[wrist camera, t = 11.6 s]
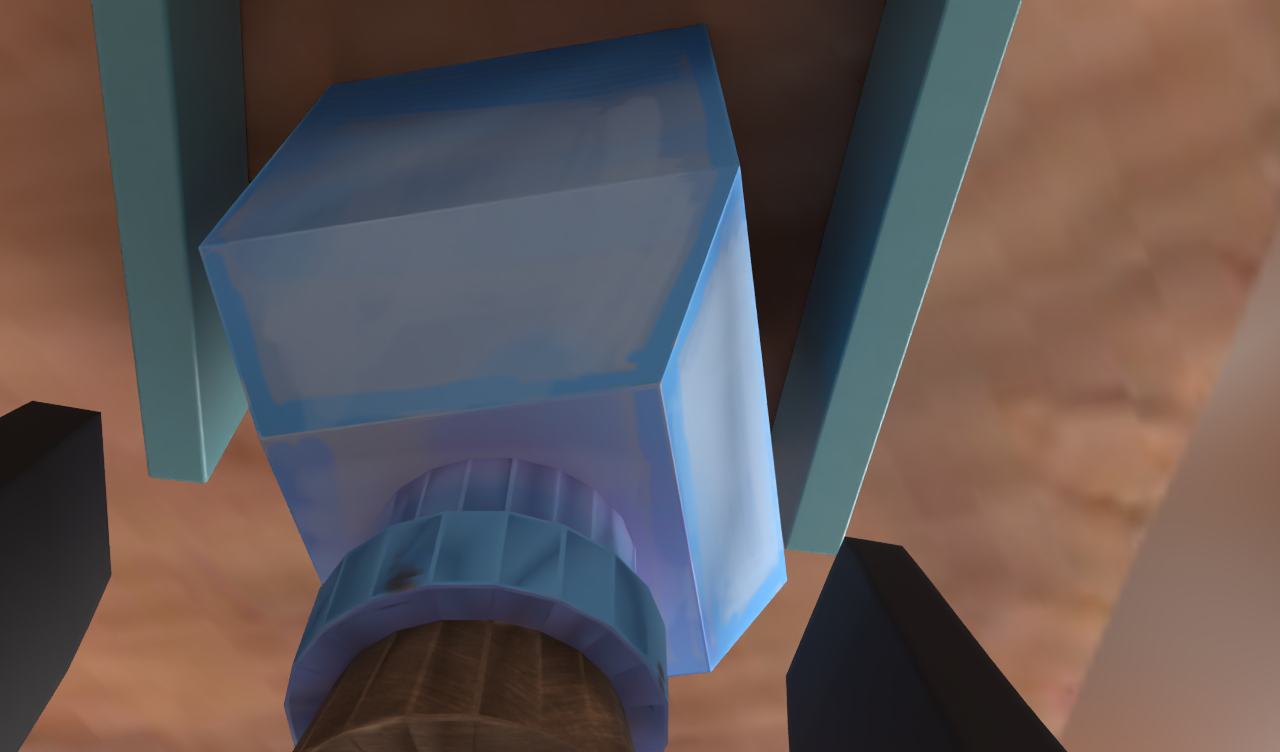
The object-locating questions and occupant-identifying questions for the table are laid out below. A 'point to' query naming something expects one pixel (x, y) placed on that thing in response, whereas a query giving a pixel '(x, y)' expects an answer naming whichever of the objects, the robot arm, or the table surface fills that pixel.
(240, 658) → the table surface
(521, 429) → the perfume bottle
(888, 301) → the bay
